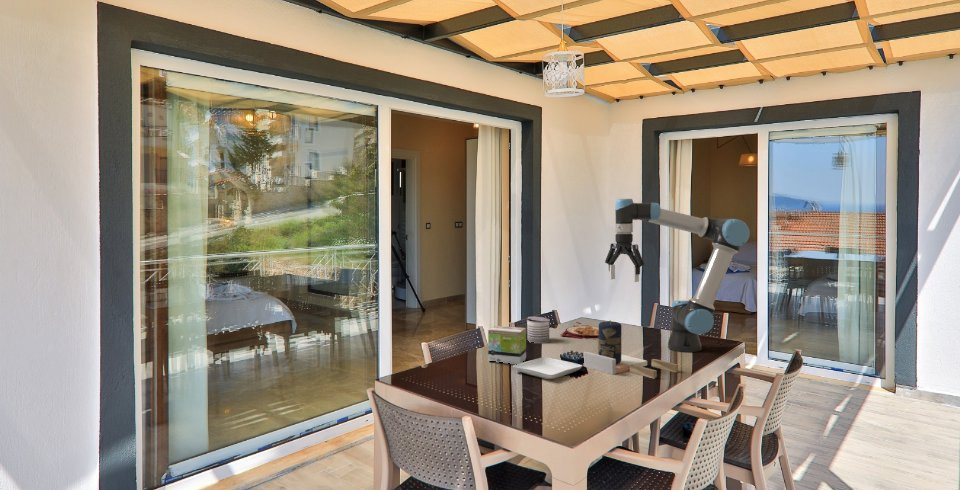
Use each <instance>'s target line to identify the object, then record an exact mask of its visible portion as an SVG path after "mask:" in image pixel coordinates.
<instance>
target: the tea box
mask: <svg viewBox="0 0 960 490" xmlns="http://www.w3.org/2000/svg"><path fill="white" fill-rule="evenodd" d="M487 333H488V335H487V355H488V357H487V359H488V362H489V361H496V362H495V363H499V362H503V363H502V364H508V363H510V364H509V365H516V364H520V363H523V361H524V362H526V359H527V327H517V326H505V325H504V326H503V325H493V326H492V327H490V329H488V330H487Z"/></svg>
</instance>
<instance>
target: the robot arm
mask: <svg viewBox="0 0 960 490" xmlns="http://www.w3.org/2000/svg"><path fill="white" fill-rule="evenodd" d="M614 211H615V233H616V234H615V237H614V238H615V243H610V245H609V246H610V247H609V249H608V253H607V256H606V258H605V261H604V263H605V264H607V265H608V271H609V280H616V265H615V262H616V261H617V260H618V258H619V257H620V255H626V256H628V258H629V259H630V261H631V262H632V264H633V265H634V267H633V283H638V282H639V281H640V274H641V267H644V266H645V262H644V260H643V257H642V254H641V252H640V249H639V245H638V243H637V244H633V241H634V239H633V238H634V236H633V235H634V234H632V233H634V230H633V229H634V228H633V227H634V225H633V224H634V222H633V221H637V220H638V221H643V222H647V223H652V224H655V225H661V226H664V227H668V228H672V229H676V230H679V231H680V230H681V231H683V232H688V233H692V234H695V235H698V237H700V238H704V239H707V240H709V241H712V242H711V244H712V247H713V249H712V251H711V255H710V257H709V259H708V261H707V264H706V267H705V269H704V272H703V274H702V277H701V279H700V282H699V284H698V287H697V289H696V291H695V294H694V296H693V297H692V298H689V299H688V300H674V301H672V302H671V332H670V336H669V338H668V342H667V348H668V349H669V350H671V351H676V352H681V353H683V352H684V353H692V352H693V353H695V352H700V351H701V350H702V343H701V339H700V336H699V335H704V334H707V333H709V332H710V331H711V329H713V327H714V324H715V319H714V313H715V311H716V308H715V306H714V303H715V301H716V299H717V296H718V294H719V290H720V288H721V287H722V283H723V280H724V278H725V276H726V274H727V271H728V269H729V266H730V264H731V261H732V259H733V257H734V255H736V254H738V253H739V252H740V249H741V247H742V246H743V245H744V244H746V243H747V242H748V240H749V238H750V234H751V232H750V228H749V226H748V225H747V223H746V222H744V221H743V220H740V219H739V218H738V219H737V218H712V217H707V216H705V217H703V218H702V217H697V216H695V215H694V216H693V215H690V214H685V213H681V212H677V211H673V210H669V209H665V208H661V205H660V203H657V202H634V201H633V198H617V199H616V200H615V210H614Z"/></svg>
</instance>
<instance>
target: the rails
mask: <svg viewBox="0 0 960 490" xmlns="http://www.w3.org/2000/svg"><path fill="white" fill-rule="evenodd" d="M651 367H653V368H656V369H661V370H664V371H669V372H673V373H678V372H679V364H677V363H673V362H669V361H665V360H660V359H657V358H656V359H655V358H652V359H651ZM656 369H652V368H648V367H646V366H643V367H641V366H637V365H633V364H631V365H630V370H629V373H632V374H635V375H638V376H643V377H646V378H650V379H653V380H656V379H657V376H658V375H657V372H658V371H657V370H656Z"/></svg>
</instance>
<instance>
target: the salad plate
mask: <svg viewBox="0 0 960 490" xmlns="http://www.w3.org/2000/svg"><path fill="white" fill-rule="evenodd" d="M582 367H583V364H578V363H576V362H570V361H566V360H561V359H556V358H551V357H547V356H546V357H545V356H543V357H539V358H535V359H531V360H528V361H524V362H522V363H520V364H517V365H516V364H513V365H512V368H513V369H514V370H516V371H517V372H520V373H523V374H525V375H529V376H532V377H533V376H534V377H537V378H541V379H546V380H553V379H558V378H560V377H561V378H562V377H564V376H566V375H570V374H572V373H574V372H577V371H579V370H580V369H581V368H582Z"/></svg>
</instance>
